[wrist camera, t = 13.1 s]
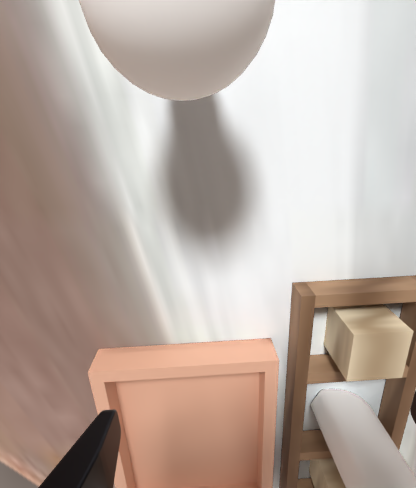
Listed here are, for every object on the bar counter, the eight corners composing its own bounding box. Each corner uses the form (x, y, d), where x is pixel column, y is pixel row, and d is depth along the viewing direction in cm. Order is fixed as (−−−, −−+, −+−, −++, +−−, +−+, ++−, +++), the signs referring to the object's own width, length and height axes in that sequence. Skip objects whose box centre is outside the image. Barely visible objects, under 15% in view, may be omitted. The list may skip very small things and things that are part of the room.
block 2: (378, 299, 23) (413, 331, 19) (370, 340, 24) (402, 377, 21) (328, 302, 23) (354, 334, 19) (323, 343, 24) (346, 381, 21)
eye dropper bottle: (331, 431, 28) (423, 630, 17) (303, 396, 26) (384, 592, 15) (373, 410, 27) (499, 604, 16) (346, 373, 25) (467, 561, 14)
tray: (270, 338, 24) (279, 360, 21) (265, 481, 30) (271, 510, 28) (98, 348, 23) (87, 372, 21) (129, 491, 30) (123, 521, 27)
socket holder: (421, 275, 22) (442, 288, 20) (373, 479, 31) (385, 501, 29) (292, 282, 22) (301, 296, 20) (279, 486, 30) (284, 509, 29)
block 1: (352, 440, 29) (375, 486, 25) (347, 467, 30) (368, 514, 26) (311, 443, 29) (329, 489, 25) (308, 470, 30) (324, 518, 26)
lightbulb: (246, 104, 18) (317, 59, 7) (148, 124, 18) (82, 107, 8) (230, -20, 16) (299, -328, 5) (119, 4, 16) (-29, -250, 5)
